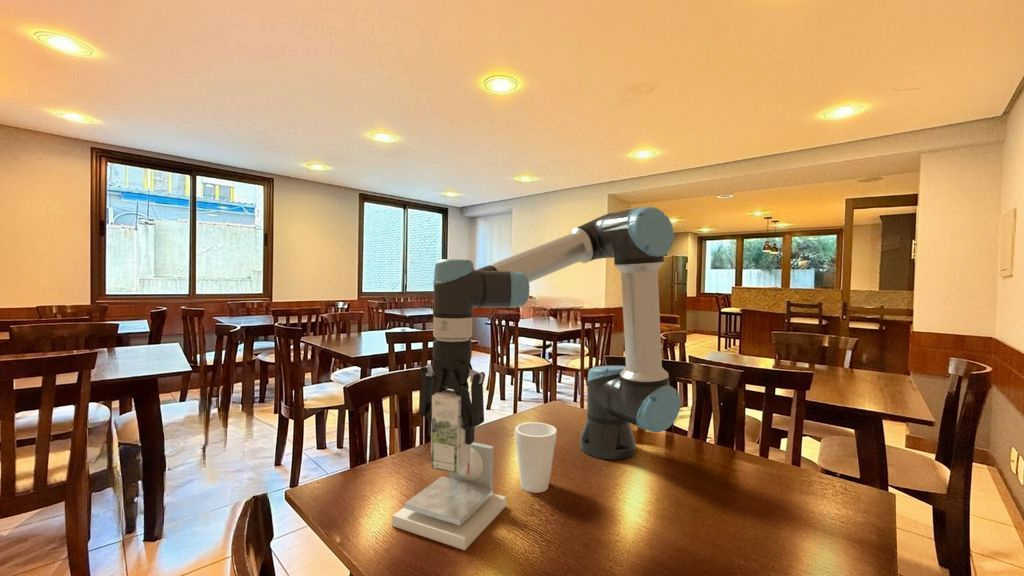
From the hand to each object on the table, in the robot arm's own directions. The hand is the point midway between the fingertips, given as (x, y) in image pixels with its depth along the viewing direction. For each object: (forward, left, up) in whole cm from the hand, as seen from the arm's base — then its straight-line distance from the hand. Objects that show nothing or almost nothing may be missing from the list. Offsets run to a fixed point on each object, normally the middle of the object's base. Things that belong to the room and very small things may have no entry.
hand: (450, 456), depth 84 cm
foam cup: (-10, -20, -12) cm, 25 cm away
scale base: (0, -1, -12) cm, 12 cm away
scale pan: (0, 0, -9) cm, 9 cm away
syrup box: (0, 0, -2) cm, 2 cm away
